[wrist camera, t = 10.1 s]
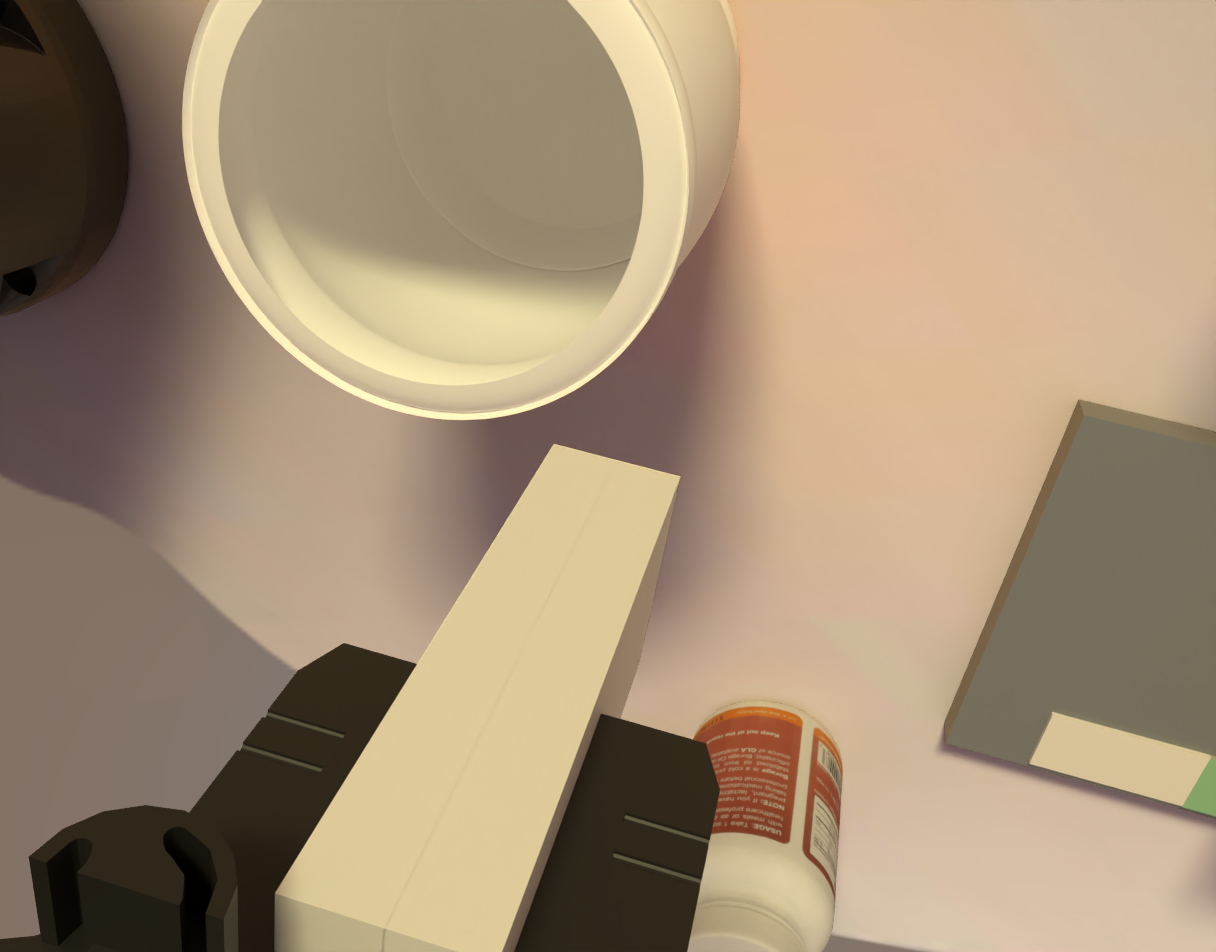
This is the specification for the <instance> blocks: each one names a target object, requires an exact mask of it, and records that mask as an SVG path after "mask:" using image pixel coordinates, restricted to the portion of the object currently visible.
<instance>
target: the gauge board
mask: <svg viewBox="0 0 1216 952" xmlns="http://www.w3.org/2000/svg"><path fill="white" fill-rule="evenodd" d="M945 743H946V744H949V745H953V746H956V747H960V748H964V749H967V750H971V751H974V752H978V753H981V754H985V755H989V756H992V757H996V758H999V759H1003V760H1007V761H1010V762H1014V763H1017V764H1021V765H1024V766H1028V767H1032V768H1035V769H1039V770H1042V771H1046V772H1050V773H1053V774H1057V775H1060V776H1064V777H1067V778H1071V779H1075V780H1078V781H1082V782H1085V783H1089V784H1092V785H1096V786H1100V787H1103V788H1107V789H1110V790H1114V791H1118V792H1121V793H1125V794H1128V795H1132V796H1135V797H1139V798H1143V799H1146V800H1150V801H1153V802H1157V803H1161V804H1164V805H1168V806H1171V807H1175V808H1178V809H1182V810H1186V811H1189V812H1193V813H1196V814H1200V815H1204V816H1207V817H1211V818H1214V819H1216V432H1213V431H1209V430H1204V429H1200V428H1196V427H1192V426H1188V425H1183V424H1179V423H1175V422H1171V421H1166V420H1162V419H1158V418H1154V417H1150V416H1145V415H1141V414H1137V413H1133V412H1129V411H1124V410H1120V409H1116V408H1112V407H1108V406H1103V405H1099V404H1095V403H1091V402H1087V401H1082V400H1079V401H1078V403H1077V405H1076V408H1075V410H1074V413H1073V415H1072V417H1071V420H1070V422H1069V425H1068V427H1067V429H1066V432H1065V434H1064V437H1063V439H1062V441H1061V444H1060V446H1059V449H1058V451H1057V453H1056V456H1055V458H1054V461H1053V463H1052V465H1051V468H1050V470H1049V473H1048V475H1047V477H1046V480H1045V482H1044V485H1043V487H1042V489H1041V492H1040V494H1039V497H1038V499H1037V501H1036V504H1035V506H1034V509H1033V511H1032V513H1031V516H1030V518H1029V521H1028V523H1027V526H1026V528H1025V530H1024V533H1023V535H1022V538H1021V540H1020V542H1019V545H1018V547H1017V550H1016V552H1015V554H1014V557H1013V559H1012V562H1011V564H1010V566H1009V569H1008V571H1007V574H1006V576H1005V578H1004V581H1003V583H1002V586H1001V588H1000V590H999V593H998V595H997V598H996V600H995V602H994V605H993V607H992V610H991V612H990V614H989V617H988V619H987V622H986V624H985V626H984V629H983V631H982V634H981V636H980V638H979V641H978V643H977V646H976V648H975V651H974V653H973V655H972V658H971V660H970V663H969V665H968V667H967V670H966V672H965V675H964V677H963V679H962V682H961V684H960V687H959V689H958V691H957V694H956V696H955V699H954V701H953V703H952V706H951V708H950V711H949V713H948V715H947V718H946V720H945Z"/></svg>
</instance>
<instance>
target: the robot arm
mask: <svg viewBox="0 0 1216 952" xmlns="http://www.w3.org/2000/svg"><path fill="white" fill-rule="evenodd" d="M127 171H128V152H127V138H126V129H125V123H124V117H123V112H122V107H121V103H120V98H119V95H118V91H117V88H116V84H115V81H114V78H113V75H112V72H111V69H110V66H109V63H108V61H107V59H106V56H105V54H104V51H103V49H102V46H101V44H100V42H99V40H98V38H97V36H96V34H95V32H94V30H93V28H92V26H91V24H90V22H89V20H88V19H87V17H86V15H85V13H84V11H83V10H82V8H81V7H80V5H79V3H78V2H77V0H0V317H2V316H6V315H9V314H12V313H15V312H18V311H21V310H23V309H25V308H28V307H30V306H32V305H34V304H36V303H38V302H40V301H42V300H44V299H46V298H48V297H50V296H52V295H54V294H56V293H58V292H60V291H62V290H64V289H66V288H68V287H69V286H71V285H72V284H74V283H75V282H76V281H78V280H79V279H80V278H81V277H83V276H84V275H85V274H86V273H87V272H88V271H89V270H90V269H91V268H92V267H93V266H94V265H95V263H96V262H97V261H98V260H99V258H100V257H101V256H102V254H103V253H104V251H105V249H106V248H107V246H108V244H109V242H110V240H111V238H112V236H113V234H114V232H115V230H116V227H117V224H118V222H119V219H120V215H121V212H122V208H123V203H124V198H125V193H126V184H127ZM680 477H681V476H677V475H673V474H669V473H666V472H662V471H658V470H654V469H650V468H646V467H642V466H638V465H634V464H631V463H627V462H623V461H619V460H615V459H611V458H607V457H603V456H599V455H596V454H592V453H588V452H584V451H580V450H576V449H572V448H568V447H564V446H561V445H557V444H553V446H552V448H551V449H550V451H549V452H548V454H547V456H546V457H545V459H544V460H543V462H542V464H541V465H540V467H539V468H538V470H537V472H536V473H535V475H534V477H533V478H532V480H531V481H530V483H529V485H528V486H527V488H526V489H525V491H524V493H523V494H522V496H521V497H520V499H519V501H518V502H517V504H516V506H515V507H514V509H513V510H512V512H511V514H510V515H509V517H508V518H507V520H506V522H505V523H504V525H503V527H502V528H501V530H500V531H499V533H498V535H497V536H496V538H495V539H494V541H493V543H492V544H491V546H490V547H489V549H488V551H487V552H486V554H485V556H484V557H483V559H482V560H481V562H480V564H479V565H478V567H477V568H476V570H475V572H474V573H473V575H472V576H471V578H470V580H469V581H468V583H467V585H466V586H465V588H464V589H463V591H462V593H461V594H460V596H459V597H458V599H457V601H456V602H455V604H454V605H453V607H452V609H451V610H450V612H449V614H448V615H447V617H446V618H445V620H444V622H443V623H442V625H441V626H440V628H439V630H438V631H437V633H436V635H435V636H434V638H433V639H432V641H431V643H430V644H429V646H428V647H427V649H426V651H425V652H424V654H423V655H422V657H421V659H420V660H419V662H418V664H415V663H412V662H408V661H405V660H401V659H398V658H394V657H391V656H387V655H384V654H380V653H377V652H373V651H370V650H366V649H363V648H359V647H356V646H352V645H349V644H345V643H343V644H342V645H340V646H338V647H337V648H335V649H333V650H332V651H330V652H328V653H327V654H325V655H323V656H322V657H320V658H318V659H317V660H315V661H313V662H312V663H310V664H308V665H307V666H305V667H303V668H302V669H300V670H298V671H297V673H296V674H295V675H294V677H293V678H292V679H291V680H290V682H289V683H288V684H287V686H286V687H285V688H284V690H283V691H282V692H281V694H280V695H279V696H278V697H277V699H276V700H275V701H274V703H273V704H272V705H271V707H270V708H269V709H268V714H267V716H266V717H265V718H263V717H262V718H261V720H260V721H259V722H258V724H257V725H256V726H255V728H254V729H253V730H252V731H251V733H250V734H249V735H248V737H247V738H246V739H245V741H244V742H243V746H242V749H241V750H240V751H238V750H237V751H236V752H235V754H234V755H233V756H232V758H231V759H230V760H229V761H228V763H227V764H226V765H225V767H224V768H223V769H222V771H221V772H220V773H219V775H218V776H217V777H216V778H215V780H214V781H213V782H212V784H211V785H210V786H209V788H208V789H207V790H206V792H205V793H204V794H203V795H202V797H201V798H200V799H199V801H198V802H197V803H196V805H195V806H194V807H193V809H192V810H191V811H190V812H189V813H188V812H186V811H183V810H176V809H169V808H162V807H155V806H147V805H144V806H137V807H131V808H124V809H118V810H110V811H104V812H101V813H99V814H96V815H94V816H92V817H89V818H87V819H85V820H83V821H80V822H78V823H76V824H73V825H71V826H69V827H66V828H64V829H62V830H61V831H60V832H58V833H57V834H56V835H55V836H54V837H52V838H51V839H50V840H49V841H47V842H46V843H45V844H44V845H43V846H42V847H40V848H39V849H38V850H36V851H35V852H34V853H33V854H32V855H30V856H29V861H30V868H31V874H32V880H33V888H34V894H35V900H36V907H37V914H38V919H39V926H40V933H41V934H39V935H36V936H31V937H30V936H29V937H19V938H8V939H0V952H687V950H688V946H689V941H690V936H691V931H692V926H693V921H694V916H695V911H696V906H697V901H698V896H699V892H700V885H701V881H702V877H703V872H704V867H705V862H706V857H707V852H708V845H709V841H710V837H711V833H712V828H713V823H714V818H715V813H716V808H717V803H718V798H719V793H720V788H719V785H718V782H717V778H716V775H715V772H714V768H713V765H712V762H711V758H710V755H709V752H708V748H707V745H706V743H703V742H699V741H696V740H692V739H689V738H685V737H682V736H678V735H675V734H671V733H668V732H664V731H661V730H657V729H654V728H650V727H647V726H643V725H640V724H636V723H633V722H629V721H626V720H622V719H620V718H621V715H622V712H623V709H624V706H625V703H626V700H627V697H628V694H629V691H630V688H631V685H632V682H633V679H634V676H635V673H636V671H637V668H638V665H639V661H640V657H641V652H642V648H643V643H644V639H645V634H646V630H647V625H648V621H649V616H650V612H651V607H652V603H653V598H654V594H655V590H656V585H657V581H658V576H659V572H660V567H661V563H662V558H663V554H664V549H665V545H666V540H667V536H668V531H669V527H670V522H671V518H672V513H673V509H674V504H675V500H676V495H677V491H678V486H679V482H680Z"/></svg>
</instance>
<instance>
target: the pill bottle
mask: <svg viewBox="0 0 1216 952" xmlns="http://www.w3.org/2000/svg"><path fill="white" fill-rule="evenodd" d="M693 740H696V741H699V742H703V743H706V745H707V748H708V752H709V755H710V758H711V762H712V765H713V768H714V772H715V775H716V778H717V782H718V785H719V788H720V793H719V798H718V803H717V808H716V813H715V818H714V823H713V828H712V833H711V837H710V841H709V845H708V852H707V857H706V862H705V867H704V872H703V877H702V881H701V885H700V892H699V896H698V901H697V906H696V911H695V916H694V921H693V926H692V931H691V936H690V941H689V946H688V950H687V952H822V951H823V949H824V947H825V945H826V944H827V942H828V940H829V938H830V935H831V932H832V928H833V921H834V912H835V895H836V894H835V893H836V874H837V858H838V841H839V825H840V806H841V790H842V759H841V755H840V751H839V749H838V747H837V744H836V742H835V741H834V739H833V737H832V736H831V734H830V733H829V732H828V731H827V729H826V728H825V727H824V726H823V725H822V724H820V723H819V722H818V721H817V720H815V719H814V718H813V717H811V716H810V715H808V714H806V713H805V712H803V711H801V710H799V709H796V708H794V707H791V706H788V705H785V704H781V703H776V702H769V701H744V702H739V703H734V704H731V705H728V706H725V707H723V708H720V709H719V710H717V711H716V712H714V713H713V714H711V715H710V716H709V717H708V718H707V719H706V720H705V721H704V722H703V723H702V724H701V725H700V727H699V728H698V730H697V732H696V734H695V736H694V739H693Z"/></svg>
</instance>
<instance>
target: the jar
mask: <svg viewBox="0 0 1216 952" xmlns="http://www.w3.org/2000/svg"><path fill="white" fill-rule="evenodd" d="M739 120H740V80H739V46H738V37H737V32H736V27H735V22H734V19H733V15H732V12H731V9H730V6H729V4H728V1H727V0H210V1H209V3H208V5H207V7H206V9H205V12H204V14H203V16H202V19H201V21H200V24H199V26H198V29H197V32H196V35H195V38H194V41H193V45H192V48H191V52H190V56H189V60H188V65H187V70H186V76H185V83H184V92H183V105H182V135H183V148H184V157H185V164H186V170H187V176H188V181H189V185H190V190H191V194H192V197H193V201H194V205H195V208H196V211H197V214H198V217H199V220H200V223H201V226H202V228H203V231H204V233H205V236H206V238H207V240H208V243H209V245H210V247H211V249H212V251H213V253H214V255H215V257H216V259H217V261H218V263H219V265H220V267H221V269H222V271H223V272H224V274H225V276H226V277H227V279H228V281H229V282H230V284H231V285H232V287H233V289H234V290H235V292H236V293H237V294H238V296H239V297H240V299H241V300H242V301H243V303H244V304H245V306H246V307H247V308H248V309H249V311H250V312H251V313H252V314H253V316H254V317H255V318H256V319H257V320H258V322H259V323H260V324H261V325H262V326H263V327H264V328H265V329H266V330H267V331H268V333H269V334H270V335H271V336H272V337H273V338H274V339H275V340H276V341H277V342H278V343H280V344H281V345H282V346H283V347H284V348H285V349H286V350H287V351H288V352H289V353H291V354H292V355H293V356H294V357H295V358H297V359H298V360H299V361H300V362H302V363H303V364H304V365H306V366H307V367H308V368H310V369H311V370H313V371H314V372H315V373H317V374H318V375H320V376H321V377H323V378H324V379H326V380H328V381H329V382H331V383H333V384H334V385H336V386H338V387H340V388H342V389H343V390H345V391H347V392H349V393H351V394H353V395H356V396H358V397H360V398H362V399H364V400H367V401H369V402H372V403H374V404H377V405H380V406H383V407H386V408H389V409H392V410H396V411H399V412H403V413H407V414H412V415H417V416H422V417H428V418H436V419H448V420H477V419H489V418H496V417H502V416H508V415H512V414H517V413H521V412H524V411H528V410H531V409H534V408H537V407H540V406H542V405H545V404H547V403H550V402H552V401H554V400H557V399H559V398H561V397H563V396H565V395H567V394H569V393H570V392H572V391H574V390H576V389H577V388H579V387H581V386H582V385H584V384H585V383H587V382H588V381H590V380H591V379H592V378H594V377H595V376H596V375H598V374H599V373H600V372H602V371H603V370H604V369H605V368H606V367H608V366H609V365H610V364H611V363H612V362H613V361H614V360H615V359H616V358H617V357H618V356H619V355H620V354H621V353H622V352H623V351H624V350H625V349H626V348H627V347H628V346H629V345H630V343H631V342H632V341H633V340H634V339H635V337H636V336H637V335H638V334H639V332H640V331H641V330H642V328H643V327H644V326H645V325H646V323H647V322H648V321H649V319H650V318H651V316H652V315H653V314H654V312H655V311H656V309H657V308H658V306H659V304H660V303H661V301H662V299H663V298H664V296H665V294H666V292H667V290H668V288H669V286H670V284H671V282H672V280H673V278H674V276H675V273H676V271H677V269H678V267H679V266H680V265H681V263H682V262H683V261H684V260H685V258H686V257H687V256H688V254H689V253H690V252H691V250H692V249H693V247H694V246H695V244H696V243H697V241H698V240H699V238H700V237H701V235H702V233H703V232H704V230H705V228H706V226H707V225H708V223H709V221H710V219H711V217H712V215H713V213H714V211H715V209H716V207H717V205H718V202H719V200H720V198H721V195H722V193H723V190H724V187H725V185H726V182H727V179H728V176H729V172H730V169H731V165H732V162H733V158H734V153H735V148H736V143H737V137H738V129H739Z"/></svg>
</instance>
